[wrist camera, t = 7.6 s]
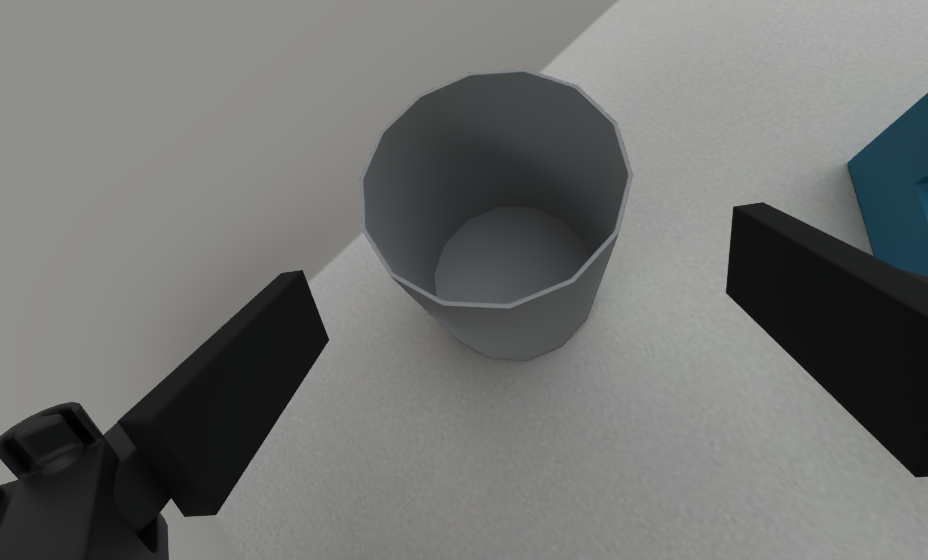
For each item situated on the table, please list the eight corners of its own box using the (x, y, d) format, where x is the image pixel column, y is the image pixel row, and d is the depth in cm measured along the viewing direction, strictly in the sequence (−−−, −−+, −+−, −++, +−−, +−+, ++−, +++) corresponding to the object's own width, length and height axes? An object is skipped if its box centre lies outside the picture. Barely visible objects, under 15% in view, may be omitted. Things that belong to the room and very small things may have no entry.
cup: (630, 299, 21) (697, 197, 12) (492, 394, 21) (448, 369, 11) (529, 183, 24) (517, 29, 15) (408, 264, 24) (318, 161, 14)
